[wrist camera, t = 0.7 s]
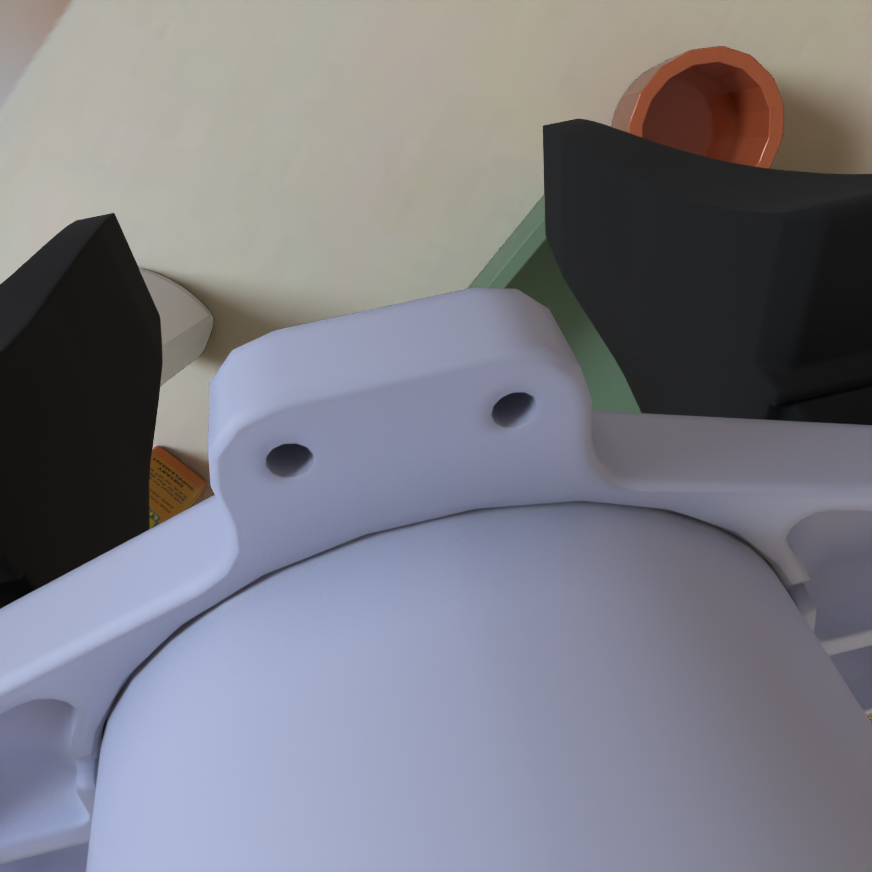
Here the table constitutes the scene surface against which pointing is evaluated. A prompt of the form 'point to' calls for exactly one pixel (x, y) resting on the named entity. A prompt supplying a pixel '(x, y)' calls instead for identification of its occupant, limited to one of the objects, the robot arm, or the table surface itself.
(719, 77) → the terracotta cup
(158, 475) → the supplement box
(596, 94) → the table surface
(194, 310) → the eye dropper bottle
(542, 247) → the sage tub
